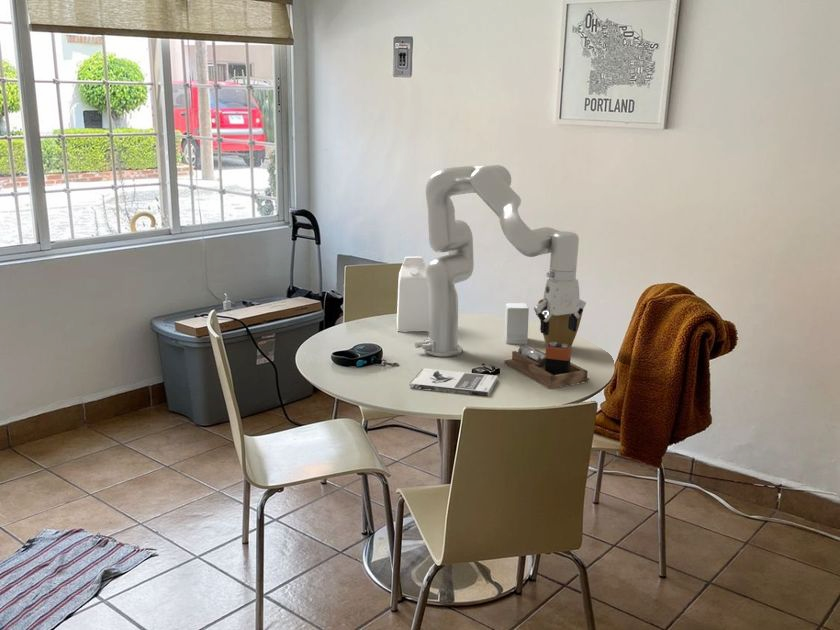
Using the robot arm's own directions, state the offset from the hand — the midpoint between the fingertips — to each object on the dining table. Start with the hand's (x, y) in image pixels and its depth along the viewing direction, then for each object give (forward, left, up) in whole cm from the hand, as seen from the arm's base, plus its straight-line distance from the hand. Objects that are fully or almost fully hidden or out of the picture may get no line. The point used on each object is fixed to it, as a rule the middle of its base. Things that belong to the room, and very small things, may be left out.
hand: (558, 331), depth 229 cm
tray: (0, +6, -14) cm, 16 cm away
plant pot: (+17, +24, -15) cm, 33 cm away
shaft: (0, +14, -13) cm, 19 cm away
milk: (-16, +68, -15) cm, 71 cm away
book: (-30, +9, -15) cm, 35 cm away
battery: (0, 0, -14) cm, 14 cm away
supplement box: (+9, +38, -15) cm, 41 cm away
